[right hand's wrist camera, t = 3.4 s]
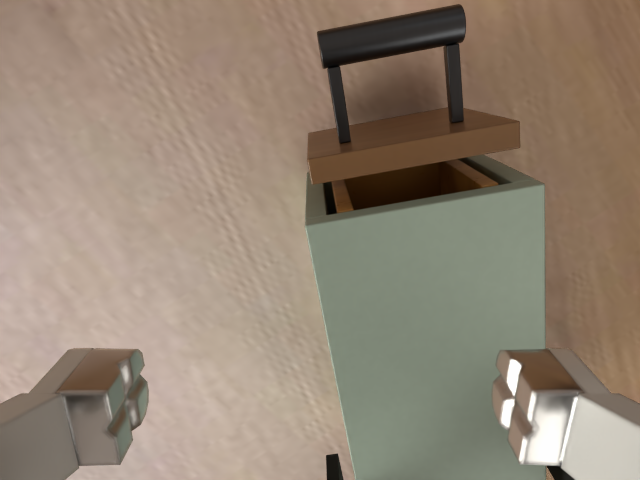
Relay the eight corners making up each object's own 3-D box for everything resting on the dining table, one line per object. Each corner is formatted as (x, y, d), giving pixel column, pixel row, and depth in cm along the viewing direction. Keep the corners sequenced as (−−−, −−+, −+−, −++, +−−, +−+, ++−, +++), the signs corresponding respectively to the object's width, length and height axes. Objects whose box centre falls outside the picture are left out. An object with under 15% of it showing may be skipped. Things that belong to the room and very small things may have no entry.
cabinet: (306, 172, 31) (304, 225, 20) (463, 144, 30) (545, 183, 20) (353, 419, 38) (369, 553, 28) (480, 399, 38) (547, 528, 27)
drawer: (292, 45, 27) (283, 32, 18) (449, 14, 27) (517, -13, 18) (354, 387, 36) (368, 488, 27) (474, 368, 35) (528, 465, 27)
